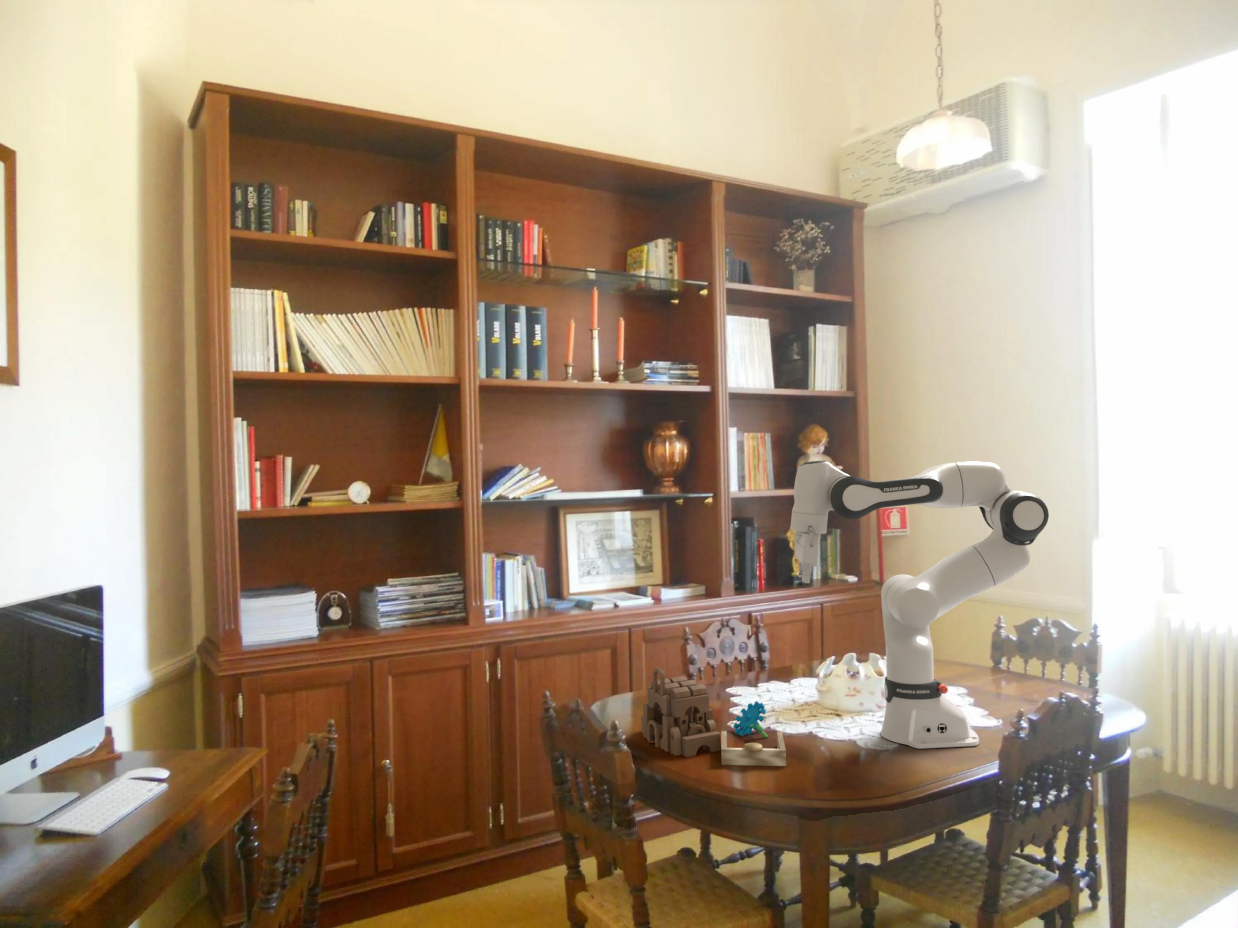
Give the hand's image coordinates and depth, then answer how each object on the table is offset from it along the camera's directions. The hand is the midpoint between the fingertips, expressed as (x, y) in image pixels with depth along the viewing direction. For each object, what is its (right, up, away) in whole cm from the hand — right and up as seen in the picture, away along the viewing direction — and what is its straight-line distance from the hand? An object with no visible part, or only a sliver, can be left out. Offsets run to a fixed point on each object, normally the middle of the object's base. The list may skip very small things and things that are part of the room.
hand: (803, 579), depth 217 cm
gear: (-13, -39, +1) cm, 41 cm away
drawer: (-15, -39, -15) cm, 44 cm away
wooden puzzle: (-31, -40, -2) cm, 51 cm away
